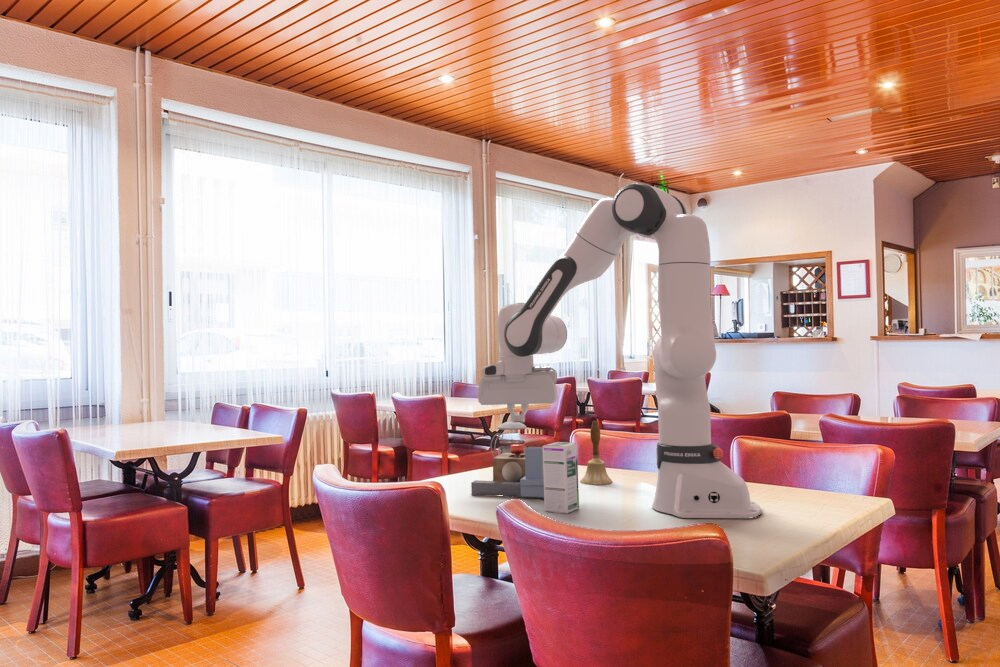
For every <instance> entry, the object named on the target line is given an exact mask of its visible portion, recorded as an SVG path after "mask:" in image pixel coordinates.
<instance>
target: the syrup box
mask: <svg viewBox="0 0 1000 667" xmlns="http://www.w3.org/2000/svg"><path fill="white" fill-rule="evenodd" d="M542 447H543V478H544V498H543V499H544V500H543V502H544V505H543V506H544V511H545V512H550V513H555V514H556V513H558V514H566V515H567V514H569V513H571V512H573V511H576V510H578V509H580V498H579V497H580V494H579V469H578V468H579V463H578V444H577V443H575V442H570V441H554V442H553V443H548V444H544V445H543V446H542Z"/></svg>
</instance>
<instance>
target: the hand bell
mask: <svg viewBox="0 0 1000 667" xmlns="http://www.w3.org/2000/svg"><path fill="white" fill-rule="evenodd" d="M589 433H590V440H591V443H592V459H590V460H588V461H587V465H586V471H585V473H584V474H583V477H582V478H581V479H580V483H581V484H583V485H592V486H603V485H605V484H606V485H610V484H612V483H613V480H612V478H611V477H610V476H609V474H608V472H607V469H606V464H605V463H606V462H605V461H604V460H603V459H601V458H600V447H599V446H600V440H601V428H600V425H599V423H598V421H597V420H593V421H592V424H591V427H590V431H589Z"/></svg>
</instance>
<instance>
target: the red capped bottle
mask: <svg viewBox="0 0 1000 667" xmlns="http://www.w3.org/2000/svg"><path fill="white" fill-rule="evenodd" d="M524 446H525V444H512V445H511V453H512V454H515V457H520V454H522V453H524Z"/></svg>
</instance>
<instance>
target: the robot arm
mask: <svg viewBox="0 0 1000 667" xmlns="http://www.w3.org/2000/svg"><path fill="white" fill-rule="evenodd" d="M633 235H639V236H640V237H643V238H647V239H652V240H655V242H656V244H657V246H658V267H657V268H658V271H657V272H658V278H657V280H658V281H657V284H658V285H657V297H658V298H657V303H658V310H659V319H660V330H661V331H660V333H661V334H660V337H659V338H658V339H657V340H656V342H655V344H654V348H653V352H652V353H653V368H654V371H653V372H654V381H655V383H654V384H655V390H656V400H657V417H658V424H657V426H658V442H657V444H656V450H655V452H656V454H655V455H656V457H655V458H656V467H657V469H658V470H657V471H658V472H657V483H656V489H655V495H654V498H653V499H654V500H653V503H652V506H651V507H652V509H653V510H655V511H658V512H661V513H663V514H669V515H673V516H676V517H677V518H683V519H685V518H686V519H747V518H746V517H755V518H757V517H756V516H758V515H760V514H762V510H761V509H762V507H761V505H760V504H759V503H757V502H755V501H752V500H751V496H750V490H749V488H748V485H747V482H746V481H745V480H744V479H743V478H742V477H741V476H740V475H739V474H737V473H736V472H735V471H733V470H732V469H731V468H730V467H728V466H727V465H725V464H724V463H723V462H722V461H721V460H722V457H723V455H724V451H723V449H722V448H720V447H719V446H718V445H716V444H714V443H712V431H711V430H712V427H711V426H712V425H711V424H712V423H711V404H710V401H709V395H708V392H707V384H706V375H707V374H708V373H710V371H711V370H712V368H713V367H714V365H715V363H716V360H717V351H716V349H717V348H716V345H715V343H716V342H715V331H714V323H713V315H712V307H711V306H712V305H711V248H710V245H711V244H710V239H709V237H710V236H709V233H708V227H707V224H706V222H705V221H704V220H703V219H702V218H701V217H699V216H697V215H695V214H691V213H687V210H686V207H685V206H684V204H683V203H682V201H681V200H680V199H679V198H677V197H676V196H674V195H672V194H669V193H668V192H666V191H665V190H663V189H661V188H659V187H656V186H652V185H649V184H647V183H644V182H643V183H641V182H635V183H630V184H627V185H625V186H623V187H621V188H620V189H619V190H618V192H617V193H616V194H615V196H614V197H603V198H601V199H599V200H598V201H597V202H596V203H595V204H594V205H593V206H592V208H591V209H590V210H589V211H588V212H587V214H586V215H585V217H584V218H583V220H582V221H581V223H580V225H579V226H578V228H577V230H576V232H575V233H574V235H573V237H572V238H571V240H570V241H569V242H568V244H567V246H566V248H565V249H564V251H563V252H562V253H561V254H560V255H559V257H558V258H557V259H556V260H555V261H554V262H553V264H551V266H550V268H549V269H548V270H547V271H546V272H545V274H544V276H543V277H542V279H541V280H539V283H538V284H537V286H536V287H535V288H534V290H533V291H532V293H531V294H530V296H529V298H528V300H527V301H525V302H515V303H510V304H506V305H504V306H502V307H501V308H500V309H499V311H498V316H497V325H496V326H497V328H496V329H497V342H498V347H499V352H498V356H497V357H498V361H497V362H493V363H491V364H489V365H486V366H484V367H482V368H480V375H481V376H482V377H481V378H480V379H479V382H478V388H477V400H478V403H479V405H481V406H490V405H491V406H495V405H496V406H497V405H498V406H499V405H507V406H506V409H507V411H508V413H509V415H511V416H512V422H520V423H525V422H526V414H527V412H528V410H529V405H538V404H539V405H540V404H541V405H542V404H543V405H548V404H555V403H556V402H557V401H558V398H559V397H558V390H557V384H556V383H557V382H558V375H557V374H558V372H557V371H556V369H554V368H552V367H551V366H534V364H535V363H534V355H543V354H544V355H545V354H552V353H556V352H559V351H560V350H561V349H562V348H564V346H565V345H566V342H567V339H568V330H567V326H566V324H565V322H564V321H563V320H562V318H560V317H559V316H556V315H552V313H553V312H554V310H555V309H556V307H557V306H558V304H559V303H560V301H561V300H562V298H563V297H564V296H565V295H566V294H567V293H568V292H569V291H570V290H572V289H574V288H576V287H577V286H579V285H582V284H584V283H587V282H590V281H594V280H596V279H598V278H601V277H602V276H603V275H604V273H605V272H606V271H607V270H608V269H609V268H610V267H611V265H612V263H613V262H614V260H615V258H616V257H617V255H618V254H619V251H620V250H621V248H622V246H623V245H624V243H625V241H627V239H628V238H630V237H631V236H633ZM516 405H521V407H520V408H521V409H522V412H521V413H520V414H517V413H516V412H515V410H514V409H515V408H516V407H515V406H516ZM760 516H761V515H760ZM741 517H742V518H741ZM743 517H745V518H743ZM758 517H759V516H758Z"/></svg>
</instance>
